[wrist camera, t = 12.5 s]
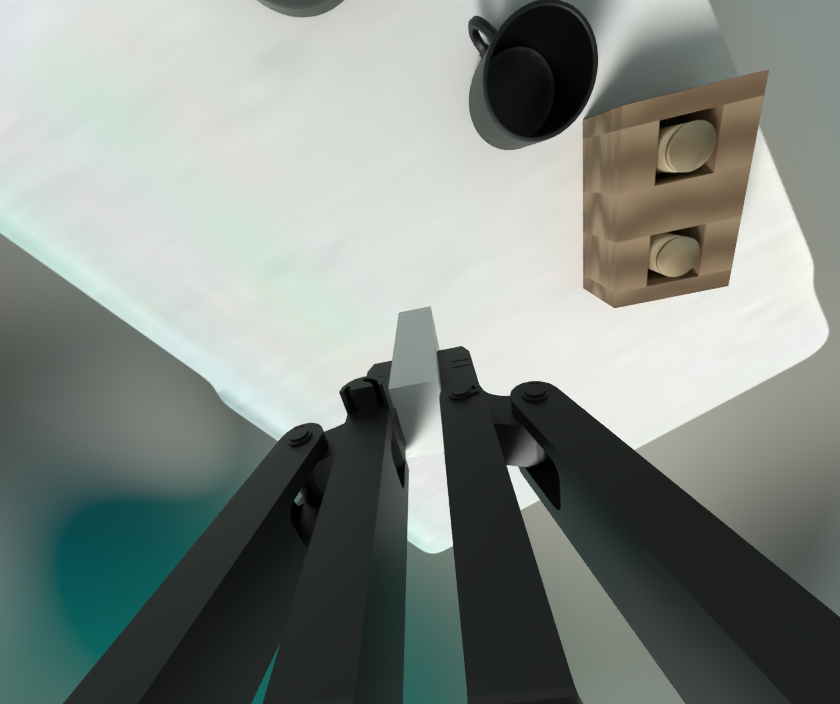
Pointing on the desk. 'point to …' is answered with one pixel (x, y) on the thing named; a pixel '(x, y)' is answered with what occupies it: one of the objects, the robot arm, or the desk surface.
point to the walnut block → (666, 190)
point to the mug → (532, 74)
